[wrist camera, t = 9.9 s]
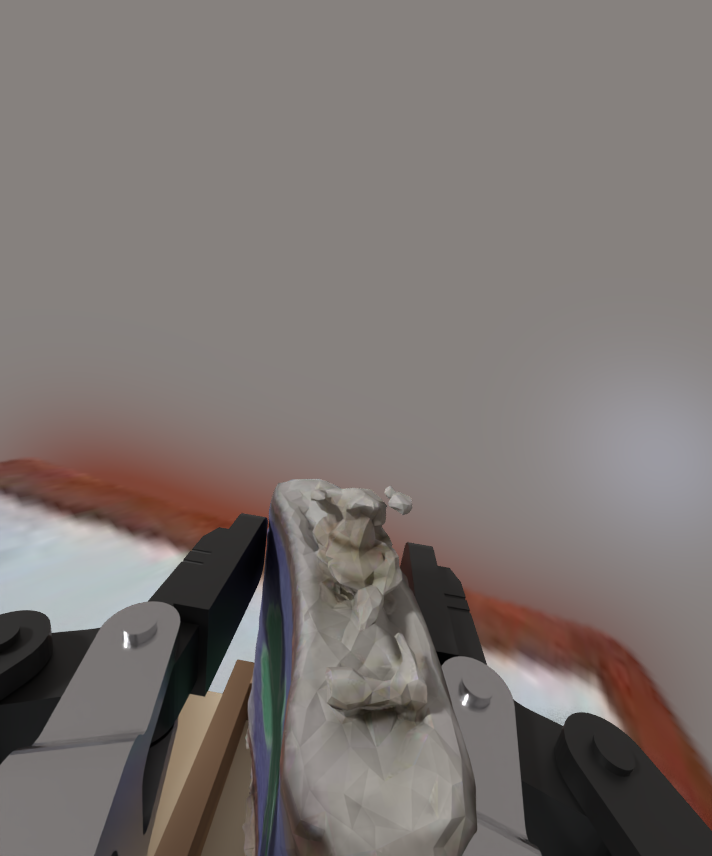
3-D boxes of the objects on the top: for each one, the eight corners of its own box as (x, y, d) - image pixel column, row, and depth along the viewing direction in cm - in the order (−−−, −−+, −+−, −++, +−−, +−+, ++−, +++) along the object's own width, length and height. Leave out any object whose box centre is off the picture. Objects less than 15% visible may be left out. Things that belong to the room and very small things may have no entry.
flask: (246, 686, 14) (277, 416, 11) (321, 678, 14) (369, 425, 12) (215, 1325, 5) (331, 826, 2) (407, 1214, 6) (671, 749, 3)
